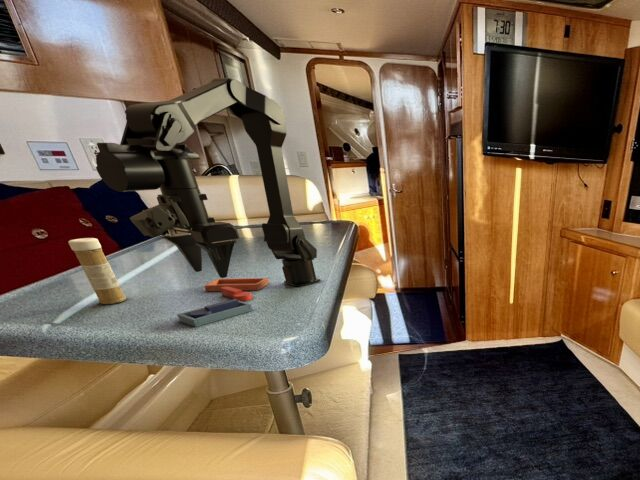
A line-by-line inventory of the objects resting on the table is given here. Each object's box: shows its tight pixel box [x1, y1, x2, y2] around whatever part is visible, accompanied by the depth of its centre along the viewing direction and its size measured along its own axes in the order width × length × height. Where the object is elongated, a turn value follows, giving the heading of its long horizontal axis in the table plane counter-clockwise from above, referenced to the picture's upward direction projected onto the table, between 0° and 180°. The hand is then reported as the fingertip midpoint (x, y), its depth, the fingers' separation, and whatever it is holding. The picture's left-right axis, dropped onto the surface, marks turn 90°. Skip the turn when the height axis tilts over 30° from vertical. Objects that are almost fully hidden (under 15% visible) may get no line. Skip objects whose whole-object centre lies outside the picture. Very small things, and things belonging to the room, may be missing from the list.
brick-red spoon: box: [220, 286, 253, 302], centre depth 93 cm, size 9×4×2 cm, turn 60°
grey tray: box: [176, 301, 254, 328], centre depth 82 cm, size 11×6×1 cm, turn 150°
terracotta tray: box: [203, 277, 270, 292], centre depth 100 cm, size 12×6×1 cm, turn 96°
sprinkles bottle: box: [67, 237, 127, 305], centre depth 86 cm, size 5×5×14 cm
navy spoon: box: [190, 298, 240, 319], centre depth 82 cm, size 9×4×2 cm, turn 150°
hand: (210, 274), depth 80 cm, fingers open, 9 cm apart
